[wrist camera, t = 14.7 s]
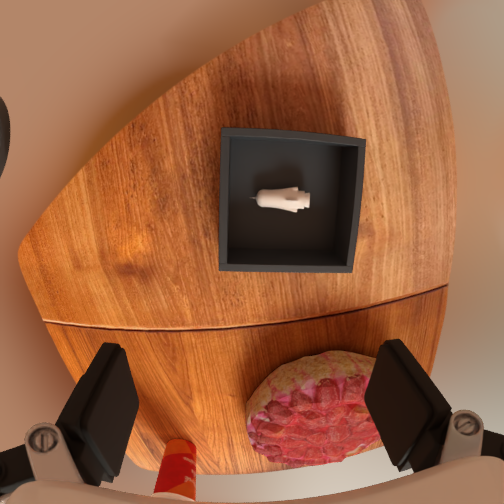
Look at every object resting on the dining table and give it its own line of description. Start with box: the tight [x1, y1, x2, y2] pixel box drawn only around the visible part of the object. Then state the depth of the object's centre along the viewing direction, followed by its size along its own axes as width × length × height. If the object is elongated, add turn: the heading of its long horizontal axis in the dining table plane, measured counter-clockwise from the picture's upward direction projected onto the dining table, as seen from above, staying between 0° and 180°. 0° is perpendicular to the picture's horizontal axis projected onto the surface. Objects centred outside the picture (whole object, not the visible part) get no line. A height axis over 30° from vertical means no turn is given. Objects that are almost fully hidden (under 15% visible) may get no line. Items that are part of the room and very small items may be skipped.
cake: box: [245, 351, 381, 468], centre depth 39 cm, size 25×25×8 cm
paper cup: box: [151, 439, 196, 501], centre depth 39 cm, size 8×8×14 cm
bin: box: [219, 127, 366, 273], centre depth 30 cm, size 14×14×6 cm
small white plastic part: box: [256, 187, 310, 212], centre depth 31 cm, size 4×6×3 cm, turn 65°
